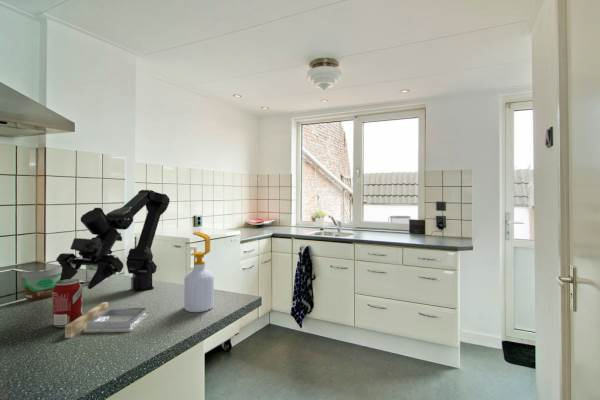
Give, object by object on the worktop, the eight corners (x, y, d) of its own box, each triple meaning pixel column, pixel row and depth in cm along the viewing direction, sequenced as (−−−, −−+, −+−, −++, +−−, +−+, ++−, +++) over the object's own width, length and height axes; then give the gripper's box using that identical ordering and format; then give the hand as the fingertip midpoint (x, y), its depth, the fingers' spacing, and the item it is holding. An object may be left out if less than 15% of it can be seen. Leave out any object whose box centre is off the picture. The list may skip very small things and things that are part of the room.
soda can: (66, 330, 87) (66, 285, 86) (46, 327, 88) (45, 283, 88) (87, 320, 93) (87, 279, 93) (68, 318, 95) (68, 277, 94)
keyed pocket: (107, 315, 97) (107, 307, 97) (148, 314, 98) (148, 307, 98) (84, 332, 85) (83, 323, 85) (131, 331, 86) (131, 323, 86)
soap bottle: (190, 302, 109) (190, 230, 109) (217, 303, 109) (217, 230, 108) (179, 312, 100) (180, 233, 100) (208, 313, 100) (209, 234, 99)
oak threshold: (103, 311, 100) (103, 302, 100) (108, 311, 100) (108, 302, 100) (65, 337, 82) (64, 326, 82) (71, 337, 82) (71, 325, 82)
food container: (28, 303, 106) (27, 273, 106) (20, 300, 110) (20, 271, 110) (70, 294, 117) (70, 266, 117) (62, 291, 120) (62, 264, 120)
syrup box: (108, 279, 137) (108, 245, 137) (98, 283, 131) (98, 247, 131) (95, 279, 138) (95, 245, 138) (85, 282, 132) (85, 247, 132)
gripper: (61, 227, 99) (26, 271, 88) (117, 228, 97) (88, 273, 86) (81, 248, 107) (52, 291, 96) (133, 250, 104) (109, 294, 94)
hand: (74, 287), depth 93 cm, fingers open, 9 cm apart
